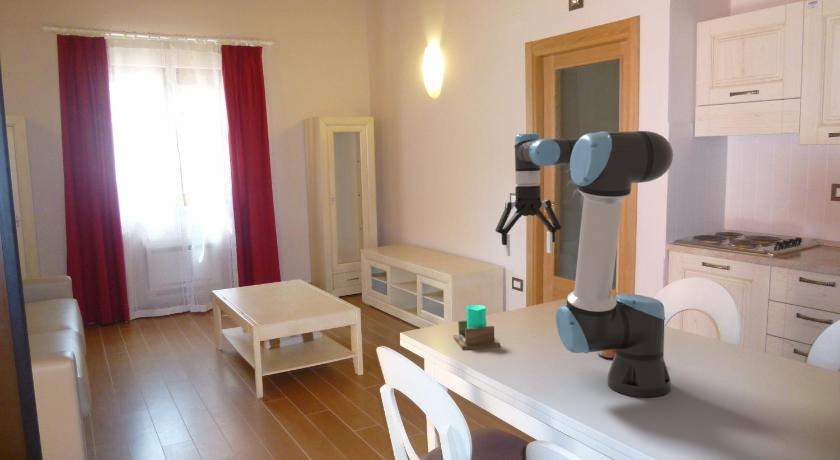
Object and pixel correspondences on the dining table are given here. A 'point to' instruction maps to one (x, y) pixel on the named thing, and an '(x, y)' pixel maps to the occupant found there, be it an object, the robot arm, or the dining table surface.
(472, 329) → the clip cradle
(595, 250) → the robot arm
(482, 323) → the candle
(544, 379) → the dining table surface
